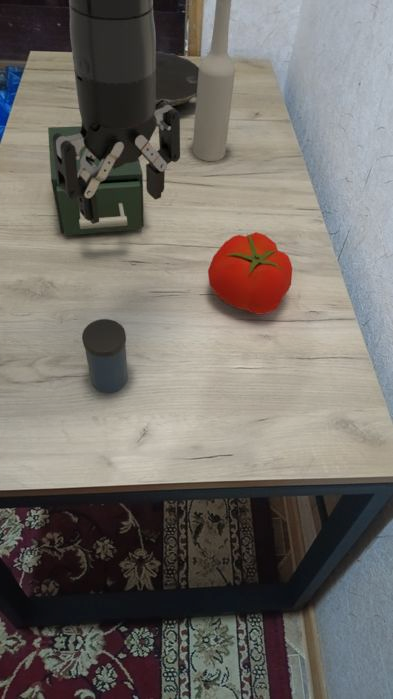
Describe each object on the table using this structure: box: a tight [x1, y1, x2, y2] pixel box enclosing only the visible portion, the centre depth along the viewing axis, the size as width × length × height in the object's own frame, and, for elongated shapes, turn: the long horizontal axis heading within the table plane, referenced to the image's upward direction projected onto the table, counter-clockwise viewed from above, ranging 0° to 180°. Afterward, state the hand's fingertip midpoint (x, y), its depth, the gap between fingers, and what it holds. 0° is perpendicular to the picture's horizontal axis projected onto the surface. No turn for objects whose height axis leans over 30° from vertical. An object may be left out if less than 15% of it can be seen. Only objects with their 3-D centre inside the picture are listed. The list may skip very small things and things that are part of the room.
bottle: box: [192, 0, 236, 162], centre depth 87 cm, size 7×7×28 cm
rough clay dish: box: [155, 51, 199, 110], centre depth 108 cm, size 22×22×5 cm
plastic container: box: [81, 318, 129, 394], centre depth 61 cm, size 5×5×9 cm
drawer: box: [56, 179, 142, 236], centre depth 79 cm, size 18×12×8 cm
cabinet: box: [47, 125, 145, 234], centre depth 82 cm, size 15×14×10 cm
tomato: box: [207, 231, 293, 315], centre depth 72 cm, size 13×12×8 cm
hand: (123, 207), depth 58 cm, fingers open, 8 cm apart
